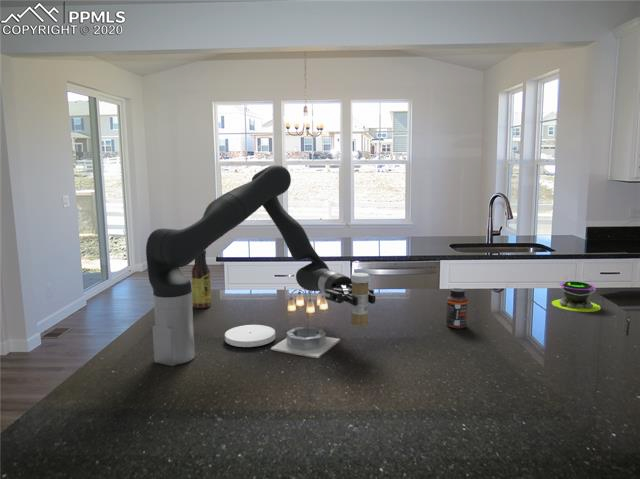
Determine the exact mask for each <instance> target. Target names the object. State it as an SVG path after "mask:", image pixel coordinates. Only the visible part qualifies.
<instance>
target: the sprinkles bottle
mask: <svg viewBox="0 0 640 479" xmlns="http://www.w3.org/2000/svg"><path fill="white" fill-rule="evenodd" d="M350 279H351V281H352V295H354V296H356V297H357V298H358V305H357V306H354V305H352V304H350V306H351V307H350V308H351V309H350V311H351V316H350V317H351V321H350V325H351V326H353V327H357V328H361V327H366V326H368V325H369V320H368V319H369V316H368V314H369V302H368V296H369V293H368V285H369V284H370V274H369V273H366V272H353V273H352V274H351V278H350Z"/></svg>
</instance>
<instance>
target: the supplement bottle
mask: <svg viewBox="0 0 640 479" xmlns="http://www.w3.org/2000/svg"><path fill="white" fill-rule="evenodd" d="M465 290H466V289H463V288H451V289H450V294H449V295H448V296H447V297H446V298H447V300H446V317H445V318H446V323H445V324H446V326H447V327H448V328H452V329H456V330H457V329H459V330H460V329H464V328H466V327H467V322H468V321H467V320H468V297H467V296H466V295H465V292H466V291H465Z"/></svg>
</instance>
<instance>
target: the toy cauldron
mask: <svg viewBox="0 0 640 479" xmlns="http://www.w3.org/2000/svg"><path fill="white" fill-rule="evenodd" d="M585 275H586V274H584V273H583V276H585ZM583 276H580V275H576V277H578V278H584V277H583ZM570 277H575V275H574V276H570ZM564 279H566V280H568V281H562V282H559V283H558V286H559V288H560V289H561V290H562V293H563V294H562V295H563V297H562V298H561V299H555V300H553V301H551V305H552V306H554V307H556V308H559V309H563V310H567V311H571V312H583V313H591V312H593V313H594V312H598V311H600V310H601V309H602V308H601V306H600V305H599V304H596V303H594V302H592V301H591V300H590V297H591V296H592V294H594V293H595V292H596V290H597V287H596V286H595V285H593V284H590V283H586V282H588V281H589V282H591V281H592V280H591V279H590V278H587V277H586V279H587V280H588V281H585V282H584V281H583V280H580V281H575V280H572V279H571V280H569V279H568V278H567V276H566V277H564ZM592 290H593V291H592Z"/></svg>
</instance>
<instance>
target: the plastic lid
mask: <svg viewBox="0 0 640 479" xmlns="http://www.w3.org/2000/svg"><path fill="white" fill-rule="evenodd" d="M275 339H276V330H275V329H274V328H273V327H271V326H267V325H263V324H245V325H240V326H235V327H232V328H230V329H228V330H227V331H225V332H224V341H225V343H226V344H228V345H230V346H233V347H239V348H241V347H242V348H252V347H260V346H264V345H267V344H270V343H271V342H273V341H274V340H275Z"/></svg>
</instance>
